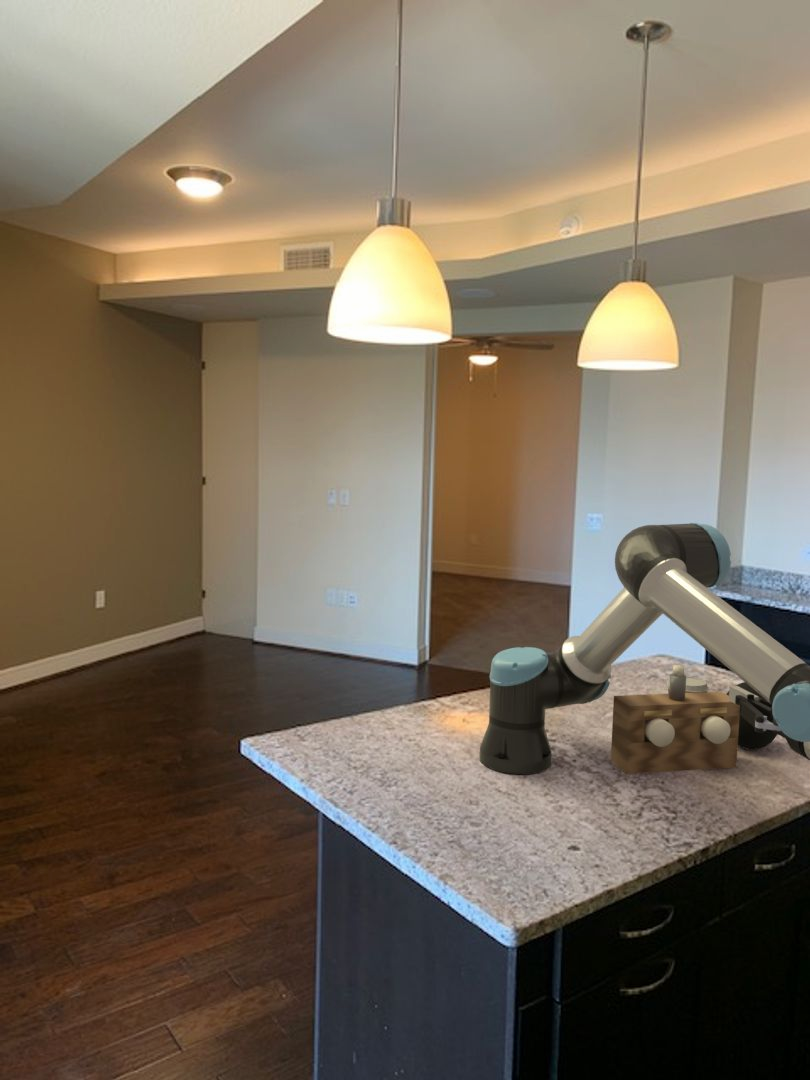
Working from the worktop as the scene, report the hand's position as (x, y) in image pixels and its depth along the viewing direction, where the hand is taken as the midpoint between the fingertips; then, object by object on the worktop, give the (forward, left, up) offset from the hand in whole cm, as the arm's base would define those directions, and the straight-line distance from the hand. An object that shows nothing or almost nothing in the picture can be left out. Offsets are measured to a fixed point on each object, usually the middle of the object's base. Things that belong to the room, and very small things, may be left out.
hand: (732, 693), depth 144 cm
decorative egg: (+22, +25, -21) cm, 40 cm away
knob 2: (+6, +20, -15) cm, 26 cm away
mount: (0, +19, -21) cm, 28 cm away
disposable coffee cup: (+14, +38, -21) cm, 46 cm away
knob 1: (-6, +20, -15) cm, 26 cm away
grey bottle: (0, +19, -7) cm, 20 cm away
